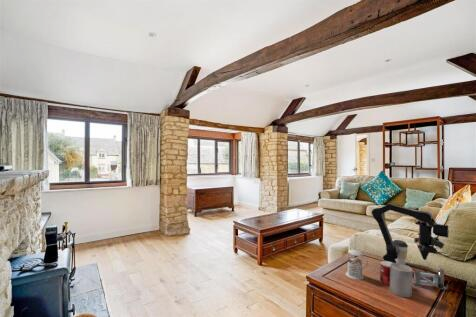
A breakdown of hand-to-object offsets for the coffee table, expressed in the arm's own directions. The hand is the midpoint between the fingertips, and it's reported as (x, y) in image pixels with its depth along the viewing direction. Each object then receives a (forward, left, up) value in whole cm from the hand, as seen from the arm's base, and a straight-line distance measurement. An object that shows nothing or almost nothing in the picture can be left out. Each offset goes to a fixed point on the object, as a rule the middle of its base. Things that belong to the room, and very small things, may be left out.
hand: (424, 259), depth 138 cm
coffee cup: (-5, +22, -12) cm, 26 cm away
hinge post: (+5, -7, -12) cm, 15 cm away
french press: (-38, -8, -12) cm, 41 cm away
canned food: (-22, -11, -12) cm, 27 cm away
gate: (-2, -7, -11) cm, 13 cm away
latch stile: (-7, -9, -12) cm, 16 cm away
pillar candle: (-19, -20, -12) cm, 30 cm away
